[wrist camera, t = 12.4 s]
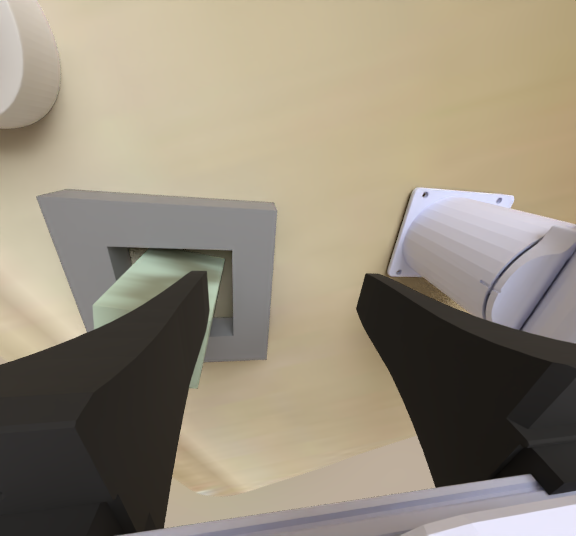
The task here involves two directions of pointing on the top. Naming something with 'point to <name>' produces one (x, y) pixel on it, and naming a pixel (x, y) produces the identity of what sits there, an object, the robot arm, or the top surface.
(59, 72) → the wall hook
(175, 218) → the well block
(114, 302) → the sage green block
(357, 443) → the top surface
